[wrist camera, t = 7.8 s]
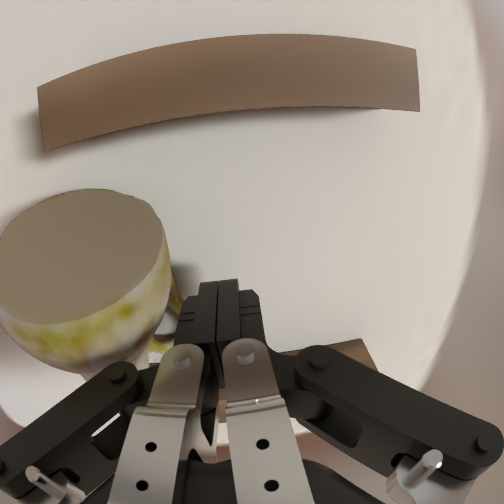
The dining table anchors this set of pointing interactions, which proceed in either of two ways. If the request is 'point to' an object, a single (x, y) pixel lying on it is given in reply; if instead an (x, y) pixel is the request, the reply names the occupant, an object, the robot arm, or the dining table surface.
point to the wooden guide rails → (229, 92)
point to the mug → (87, 281)
